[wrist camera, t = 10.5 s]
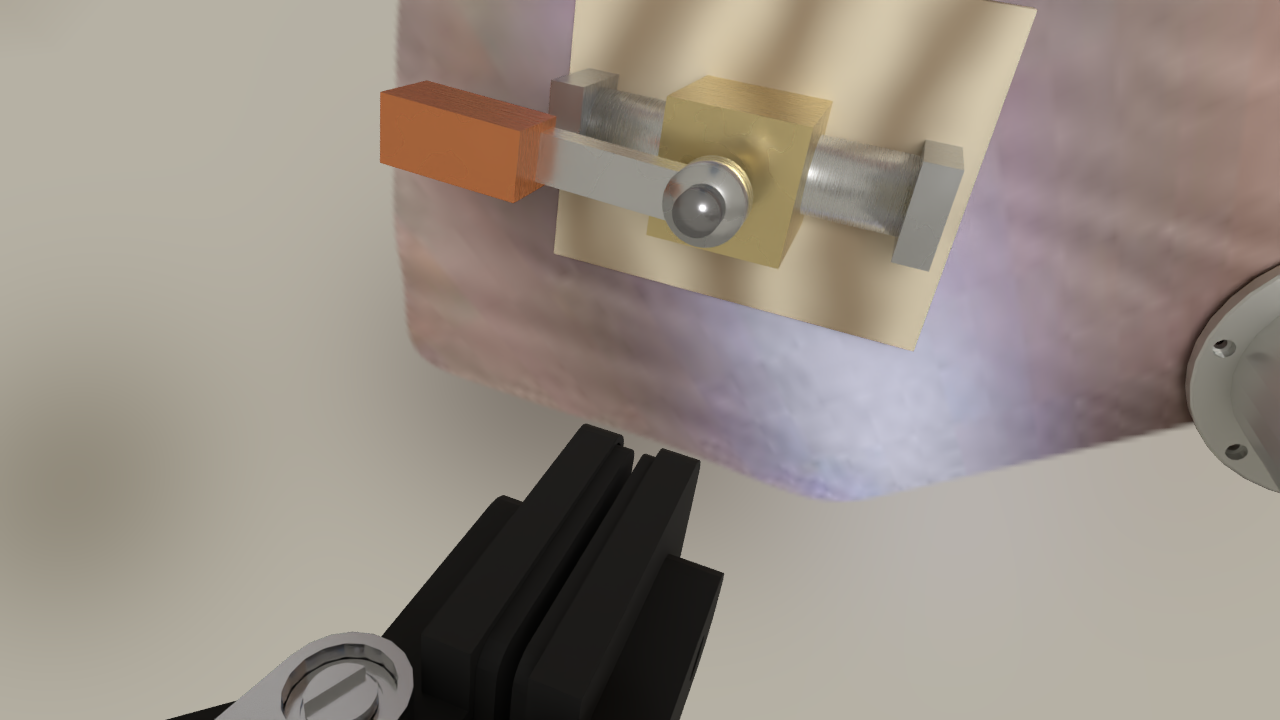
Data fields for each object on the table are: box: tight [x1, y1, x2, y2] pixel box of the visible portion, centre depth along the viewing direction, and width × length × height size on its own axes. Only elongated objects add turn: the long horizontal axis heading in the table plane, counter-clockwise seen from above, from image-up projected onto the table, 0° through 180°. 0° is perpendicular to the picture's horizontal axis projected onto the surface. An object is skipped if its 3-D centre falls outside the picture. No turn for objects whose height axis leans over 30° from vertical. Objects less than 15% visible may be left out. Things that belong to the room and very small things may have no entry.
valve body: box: [549, 68, 965, 272], centre depth 34 cm, size 18×6×8 cm, turn 82°
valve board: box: [554, 0, 1037, 351], centre depth 38 cm, size 20×16×2 cm
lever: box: [380, 81, 753, 248], centre depth 30 cm, size 15×3×3 cm, turn 79°
